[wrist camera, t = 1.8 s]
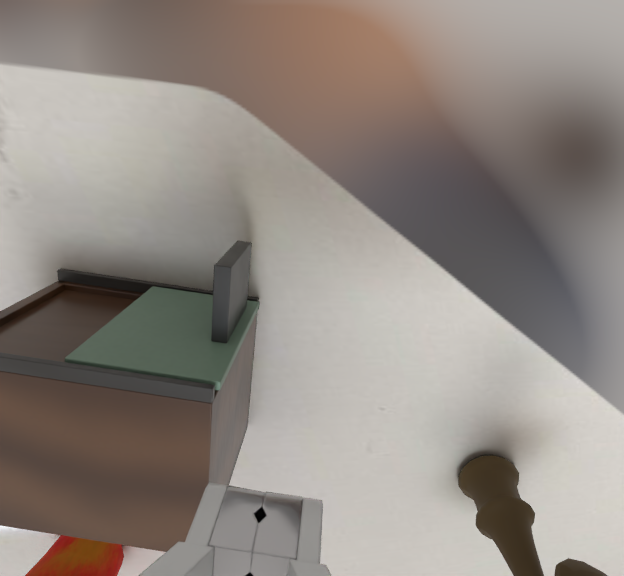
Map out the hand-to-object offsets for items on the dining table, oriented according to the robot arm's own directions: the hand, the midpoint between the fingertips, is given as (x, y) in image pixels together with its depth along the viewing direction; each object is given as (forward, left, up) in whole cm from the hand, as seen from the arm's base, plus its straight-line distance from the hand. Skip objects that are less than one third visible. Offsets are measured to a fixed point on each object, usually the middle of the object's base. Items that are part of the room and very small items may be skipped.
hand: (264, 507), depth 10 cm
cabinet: (+10, -12, -21) cm, 26 cm away
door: (+1, -8, -20) cm, 22 cm away
